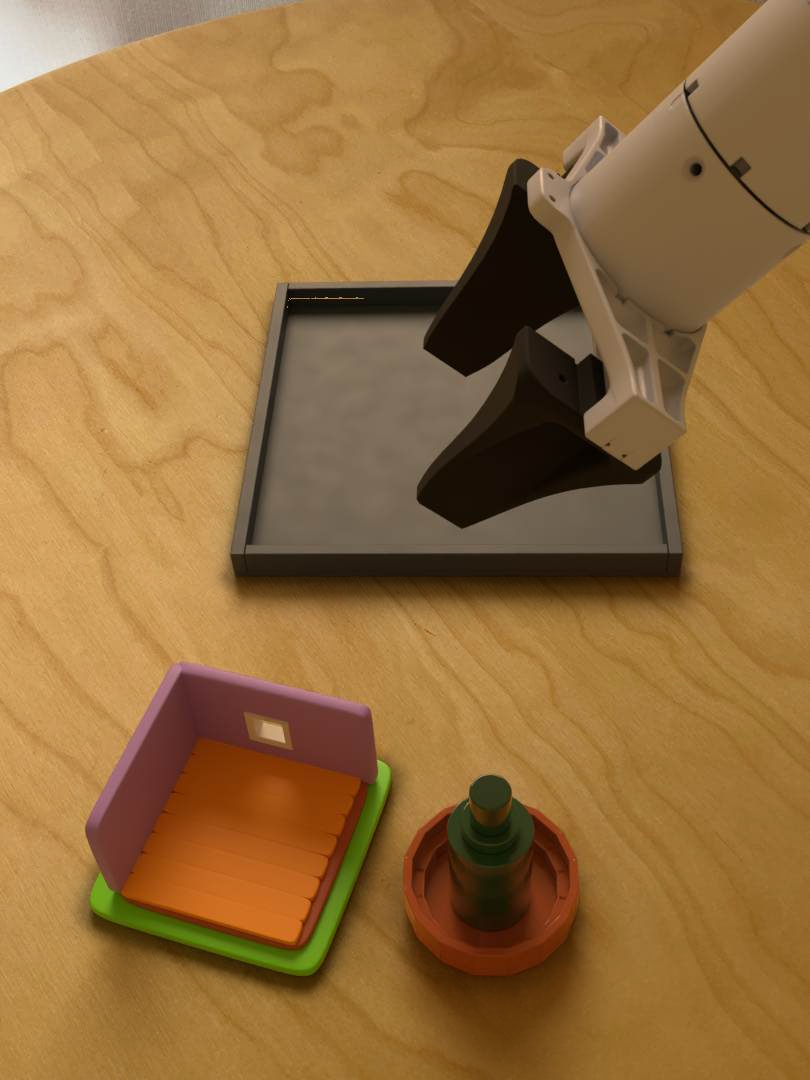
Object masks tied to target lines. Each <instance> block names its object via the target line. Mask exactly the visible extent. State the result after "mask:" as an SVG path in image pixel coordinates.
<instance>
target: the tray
mask: <svg viewBox="0 0 810 1080" xmlns="http://www.w3.org/2000/svg"><path fill="white" fill-rule="evenodd" d="M458 280H459V279H447V280H445V279H444V280H443V279H441V280H437V279H436V280H435V279H434V280H378V281H377V280H374V281H372V280H371V281H369V280H368V281H310V282H309V281H308V282H307V281H304V282H300V281H299V282H287V281H286V282H277V283H276V288H275V293H274V299H273V300H274V301H273V305H272V311H271V316H270V322H269V329H268V334H267V340H266V346H265V351H264V356H263V357H264V358H263V363H262V369H261V373H260V380H259V386H258V391H257V397H256V403H255V409H254V413H253V419H252V420H253V422H252V426H251V432H250V436H249V437H250V438H249V443H248V449H247V455H246V461H245V466H244V473H243V478H242V484H241V488H240V489H241V490H240V495H239V501H238V507H237V512H236V518H235V525H234V530H233V534H232V535H233V536H232V542H231V546H230V552H229V557H230V560H231V566H232V570H233V575H234V577H611V576H612V577H680V576H681V570H682V564H683V559H684V548H683V542H682V534H681V525H680V520H679V519H680V518H679V512H678V511H679V510H678V505H677V497H676V489H675V482H674V474H673V468H672V459H671V452H670V451H671V450H670V446H668V447H667V448H666V449H664V450H663V451H662V452H661V458H662V467H661V469H660V471H659V472H658V473H656V474H655V475H654V476H652V477H651V478H650V479H648V480H647V481H646V482H644V483H643V484H625V485H608V486H598V487H590V488H583V489H577V490H571V491H566V492H562V493H558V494H554V495H550V496H547V497H544V498H540V499H537V500H534V501H532V502H529V503H526V504H523V505H521V506H518V507H516V508H513V509H511V510H508V511H506V512H503V513H501V514H498V515H496V516H493V517H491V518H489V519H486V520H484V521H481V522H479V523H476V524H474V525H471V526H469V527H466V528H463V529H461V528H459V527H457V526H456V525H454V524H452V523H451V522H449V521H447V520H446V519H444V518H442V517H441V516H439V515H437V514H436V513H434V512H432V511H431V510H429V509H427V508H426V507H424V506H422V505H421V504H419V503H418V501H417V499H416V498H417V485H418V484H419V482H420V480H421V479H422V477H423V475H424V474H425V472H426V471H427V469H428V468H429V466H430V465H431V464H432V463H433V461H434V460H435V459H436V458H437V457H438V456H439V455H440V454H441V452H442V451H443V450H444V449H445V448H446V447H447V446H448V445H449V444H450V443H451V442H452V441H453V440H454V439H455V438H456V437H457V435H458V434H459V433H460V432H461V431H462V430H463V429H464V428H465V427H466V426H467V425H468V423H469V422H470V421H471V420H472V419H473V417H474V416H475V415H476V413H477V412H478V411H479V409H480V408H481V407H482V405H483V404H484V402H485V401H486V399H487V398H488V396H489V395H490V393H491V391H492V390H493V388H494V387H495V385H496V383H497V381H498V379H499V377H500V375H501V373H502V371H503V369H504V367H505V365H506V363H507V360H508V358H509V355H510V353H511V350H512V349H511V350H509V351H508V352H507V353H505V354H504V355H503V356H501V357H500V358H499V359H497V360H496V361H494V362H493V363H491V364H490V365H488V366H487V367H485V368H483V369H481V370H480V371H478V372H475V373H473V374H471V375H469V376H467V377H465V376H463V375H462V374H460V373H459V372H457V371H456V370H454V369H453V368H451V367H450V366H448V365H447V364H445V363H444V362H442V361H441V360H439V359H438V358H436V357H435V356H433V355H432V354H430V353H429V352H427V351H426V350H424V349H423V341H424V337H425V334H426V332H427V330H428V329H429V327H430V325H431V323H432V321H433V320H434V318H435V316H436V315H437V313H438V311H439V310H440V308H441V307H442V305H443V304H444V302H445V300H446V299H447V297H448V296H449V294H450V293H451V291H452V290H453V288H454V287H455V285H456V283H457V282H458ZM315 297H316V298H325V297H328V298H339V297H342V298H356V297H358V298H364V299H311V298H315ZM289 298H290V299H291V298H310V299H291V300H290V299H289ZM288 300H289V301H288ZM287 306H288V308H287ZM536 332H537V333H539V334H540V335H542V336H543V337H545V338H546V339H547V340H549V341H550V342H552V343H553V344H554V345H556V346H557V347H559V348H560V349H561V350H563V351H564V352H566V353H567V354H569V355H570V356H571V357H573V358H574V359H575V363H576V364H578V363H579V362H581V361H582V360H583V359H584V358H585V357H587V356H588V355H589V354H590V353H591V354H592V355H593V345H592V334H591V330H590V328H589V325H588V323H587V320H586V318H585V315H584V313H583V310H582V308H581V305H579V306H577V307H575V308H573V309H571V310H570V311H568V312H566V313H564V314H562V315H560V316H559V317H557V318H555V319H553V320H552V321H550V322H548V323H547V324H545V325H543V326H542V327H541V328H539V329H538V330H536Z"/></svg>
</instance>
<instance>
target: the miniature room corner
mask: <svg viewBox="0 0 810 1080" xmlns="http://www.w3.org/2000/svg"><path fill="white" fill-rule="evenodd" d="M263 721H265V722H263ZM266 722H269V723H266ZM270 723H272V724H270ZM278 725H281V726H278ZM375 738H376V737H375V730H374V720H373V715H372V710H371V708H370V707H369V706H368V705H366V704H364V703H360V702H356V701H353V700H348V699H344V698H341V697H336V696H332V695H328V694H324V693H319V692H315V691H311V690H307V689H303V688H300V687H294V686H291V685H288V684H287V685H286V684H283V683H279V682H274V681H270V680H266V679H263V678H262V679H261V678H257V677H254V676H249V675H246V674H241V673H237V672H233V671H229V670H225V669H220V668H216V667H211V666H208V665H203V664H199V663H194V662H189V661H181V662H177V663H173V664H172V665H171V666H170V668H169V669H168V670H167V672H166V674H165V676H164V678H163V679H162V681H161V683H160V685H159V687H158V688H157V691H156V692H155V694H154V696H153V697H152V699H151V702H150V703H149V705H148V707H147V708H146V710H145V712H144V714H143V715H142V718H141V719H140V721H139V723H138V724H137V727H135V730H134V732H133V734H132V735H131V737H130V739H129V741H128V743H127V744H126V747H125V749H124V750H123V752H122V754H121V756H120V757H119V760H117V761H118V762H117V763H116V764H115V767H114V769H113V770H112V773H111V774H110V776H109V778H108V780H107V781H106V784H105V785H104V786H103V789H102V791H101V793H100V794H99V796H98V798H97V800H96V802H95V803H94V805H93V808H92V810H91V811H90V813H89V816H88V818H87V820H86V823H85V826H84V834H85V838H86V841H87V843H88V846H89V848H90V850H91V854H92V856H93V857H94V861H95V862H96V865H97V867H98V869H99V873H98V876H97V878H96V879H95V882H94V883H93V886H92V889H91V891H90V896H89V906H90V908H91V910H92V911H93V913H94V914H95V915H97V916H98V917H100V918H102V919H104V920H107V921H109V922H112V923H114V924H118V925H120V926H124V927H127V928H130V929H132V930H136V931H138V932H143V933H147V934H149V935H152V936H155V937H159V938H163V939H165V940H169V941H171V942H176V943H179V944H182V945H186V946H189V947H192V948H194V949H195V948H196V949H199V950H202V951H205V952H208V953H212V954H216V955H218V956H222V957H226V958H229V959H233V960H236V961H240V962H243V963H247V964H249V965H253V966H256V967H260V968H264V969H268V970H271V971H275V972H279V973H282V974H286V975H291V976H296V977H308V976H312V975H313V974H315V973H316V972H318V970H319V969H320V968H321V966H322V965H323V964H324V961H325V958H326V957H327V954H328V952H329V950H330V947H331V946H332V944H333V940H334V938H335V935H336V933H337V930H338V927H339V926H340V923H341V921H342V918H343V916H344V912H345V911H346V908H347V905H348V903H349V900H350V897H351V895H352V892H353V890H354V887H355V885H356V882H357V880H358V877H359V874H360V872H361V869H362V866H363V864H364V861H365V859H366V856H367V853H368V851H369V848H370V846H371V843H372V840H373V838H374V835H375V832H376V829H377V826H378V824H379V821H380V819H381V816H382V813H383V810H384V807H385V805H386V802H387V799H388V796H389V793H390V790H391V786H392V781H393V774H392V770H391V767H390V766H389V765H388V764H387V763H385V762H384V761H381V759H378V756H377V750H376V749H377V747H376V739H375Z"/></svg>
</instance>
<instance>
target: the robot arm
mask: <svg viewBox="0 0 810 1080" xmlns="http://www.w3.org/2000/svg"><path fill="white" fill-rule="evenodd" d="M561 159H562V167H563V169H564V171H565V172H564V173H563V174H562V175H561V174H560V173H559V172H555V171H554V170H553V169H550V168H549V167H539V166H537V165H536V164H535V163H533V162H532V161H530V160H528V159H525V158H515V159H514V161H512V162H511V163H510V165H509V166H508V167H507V170H506V173H505V177H504V180H503V184H502V188H501V191H500V194H499V197H498V200H497V204H496V206H495V209H494V211H493V214H492V216H491V218H490V221H489V223H488V226H487V228H486V230H485V232H484V234H483V236H482V239H481V240H480V242H479V244H478V246H477V248H476V250H475V252H474V253H473V256H472V257H471V259H470V260H469V262H468V264H467V266H466V267H465V269H464V271H463V272H462V273H461V275H460V277H459V279H457V280H458V282H457V283H456V285H455V287H454V288H453V290H452V291H451V293H450V294H449V296H448V297H447V299H446V300H445V302H444V304H443V305H442V307H441V308H440V310H439V311H438V313H437V315H436V316H435V318H434V320H433V321H432V323H431V325H430V327H429V329H428V330H427V332H426V334H425V337H424V341H423V349H424V350H426V351H427V352H429V353H430V354H432V355H433V356H435V357H436V358H438V359H439V360H441V361H442V362H444V363H445V364H447V365H448V366H450V367H451V368H453V369H454V370H456V371H457V372H459V373H460V374H462V375H463V376H465V377H467V376H469V375H471V374H473V373H475V372H478V371H480V370H481V369H483V368H485V367H487V366H488V365H490V364H491V363H493V362H494V361H496V360H497V359H499V358H500V357H501V356H503V355H504V354H505V353H507V352H508V351H509V350H511V349H512V350H511V353H510V355H509V358H508V360H507V363H506V365H505V367H504V369H503V371H502V373H501V375H500V377H499V379H498V381H497V383H496V385H495V387H494V388H493V390H492V391H491V393H490V395H489V396H488V398H487V399H486V401H485V402H484V404H483V405H482V407H481V408H480V409H479V411H478V412H477V413H476V415H475V416H474V417H473V419H472V420H471V421H470V422H469V423H468V425H467V426H466V427H465V428H464V429H463V430H462V431H461V432H460V433H459V434H458V435H457V437H456V438H455V439H454V440H453V441H452V442H451V443H450V444H449V445H448V446H447V447H446V448H445V449H444V450H443V451H442V452H441V454H440V455H439V456H438V457H437V458H436V459H435V460H434V461H433V463H432V464H431V465H430V466H429V468H428V469H427V471H426V472H425V474H424V475H423V477H422V479H421V480H420V482H419V484H418V485H417V498H416V499H417V501H418V503H419V504H421V505H422V506H424V507H426V508H427V509H429V510H431V511H432V512H434V513H436V514H437V515H439V516H441V517H442V518H444V519H446V520H447V521H449V522H451V523H452V524H454V525H456V526H457V527H459V528H461V529H463V528H466V527H469V526H471V525H474V524H476V523H479V522H481V521H484V520H486V519H489V518H491V517H493V516H496V515H498V514H501V513H503V512H506V511H508V510H511V509H513V508H516V507H518V506H521V505H523V504H526V503H529V502H532V501H534V500H537V499H540V498H544V497H547V496H550V495H554V494H558V493H562V492H566V491H571V490H577V489H583V488H590V487H598V486H608V485H625V484H643V483H644V482H646V481H647V480H648V479H650V478H651V477H652V476H654V475H655V474H656V473H658V472H659V471H660V469H661V467H662V458H661V452H662V451H663V450H664V449H666V448H667V447H668V446H669V447H670V446H671V445H672V444H674V443H675V442H677V441H678V440H679V439H681V438H682V437H683V436H684V435H685V434H687V424H686V415H685V411H686V409H685V408H686V407H685V406H686V399H687V394H688V391H689V387H690V384H691V380H692V377H693V374H694V371H695V368H696V364H697V361H698V358H699V354H700V352H701V348H702V345H703V341H704V338H705V335H706V332H707V329H708V323H709V321H711V320H712V319H714V318H715V317H716V316H717V315H719V314H720V313H721V312H722V311H723V310H724V309H726V308H727V307H728V306H729V305H731V304H732V303H733V302H734V301H735V300H737V299H738V298H739V297H740V296H742V295H743V294H744V293H745V292H747V291H749V289H751V288H752V287H753V286H754V285H756V283H757V282H759V281H760V280H762V279H763V278H764V277H766V276H767V275H768V274H769V273H770V272H772V271H773V270H774V269H775V268H777V266H779V265H781V264H782V263H783V262H784V261H785V260H786V259H788V258H789V257H790V256H791V255H792V254H793V253H795V252H796V251H798V249H799V248H801V247H802V246H804V245H805V244H806V243H807V242H808V241H810V0H766V1H765V2H764V3H763V4H762V5H761V6H760V7H759V8H758V9H757V10H756V11H754V13H752V15H751V16H750V17H749V18H748V19H747V20H746V21H744V23H742V24H741V25H740V26H739V27H738V28H737V29H736V30H735V31H734V32H733V33H732V34H731V35H729V37H728V38H726V40H725V41H723V42H722V44H720V45H719V46H718V48H716V49H715V50H714V51H713V52H712V53H711V54H710V55H709V56H708V57H707V58H706V59H705V60H704V61H703V62H702V63H701V64H700V65H699V66H698V67H696V68H695V69H694V70H693V72H691V73H690V74H689V75H688V76H687V77H686V78H685V79H684V80H683V81H682V82H681V83H679V84H678V86H677V87H676V88H675V89H674V90H673V91H672V92H670V93H669V94H668V95H667V96H666V97H665V98H664V99H663V100H662V101H661V102H660V103H659V104H658V105H657V106H656V107H655V108H654V109H653V110H652V111H650V113H648V115H646V116H645V118H643V119H642V121H640V122H639V123H638V125H636V126H635V127H634V128H633V129H632V130H631V131H630V132H629V133H628V134H627V135H626V134H625V133H624V132H623V131H621V130H620V129H619V128H618V127H616V126H615V125H614V124H613V123H611V122H610V121H609V120H608V119H607V118H605V117H604V116H603V115H598V117H597V118H596V119H595V120H593V121H592V123H591V124H590V125H589V126H588V127H586V129H585V130H583V132H581V133H580V135H578V136H577V137H576V139H574V140H573V141H572V143H570V144H569V146H567V147H566V148H565V149H564V150H563V151H562V152H561ZM579 305H581V308H582V310H583V313H584V315H585V318H586V320H587V323H588V325H589V328H590V330H591V334H592V345H593V355H592V354H591V353H590V354H589V355H588V356H587V357H585V358H584V359H583V360H582V361H581V362H579V363H578V364H576V363H575V359H574V358H573V357H571V356H570V355H569V354H567V353H566V352H564V351H563V350H561V349H560V348H559V347H557V346H556V345H554V344H553V343H552V342H550V341H549V340H547V339H546V338H545V337H543V336H542V335H540V334H539V333H537V332H536V330H538V329H539V328H541V327H542V326H543V325H545V324H547V323H548V322H550V321H552V320H553V319H555V318H557V317H559V316H560V315H562V314H564V313H566V312H568V311H570V310H571V309H573V308H575V307H577V306H579Z"/></svg>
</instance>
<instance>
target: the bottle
mask: <svg viewBox="0 0 810 1080" xmlns="http://www.w3.org/2000/svg"><path fill="white" fill-rule="evenodd" d="M458 803H459V804H458ZM458 803H457V804H458V805H456V807H455V808H454V809H453V811H452V812H451V814H450V817H449V819H448V823H447V840H448V860H449V881H450V899H451V903H452V906H453V908H454V910H455V912H456V914H457V915H458V916H459V917H460V919H461V920H463V921H464V922H465V923H466V924H468V925H469V926H471V927H473V928H476V929H479V930H483V931H500V930H504V929H507V928H509V927H511V926H513V925H515V924H516V923H517V922H519V921H520V920H521V919H522V918H523V917H524V915H525V914H526V912H527V910H528V908H529V906H530V902H531V889H532V867H533V844H534V824H533V820H532V817H531V815H530V813H529V812H528V810H527V809H526V807H525V806H524V805H525V804H524V803H522V802H521V801H519V800H518V799H517V798H515V797H514V796H513V790H512V787H511V785H510V782H508V780H506V778H504V777H503V776H501V775H499V774H496V773H485V774H481V775H479V776H478V777H476V778H475V779H474V780H473V781H472V782H471V784H470V786H469V789H468V796H467V797H465V798H463V799H462V800H461V801H459V802H458ZM523 804H524V805H523Z"/></svg>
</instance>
